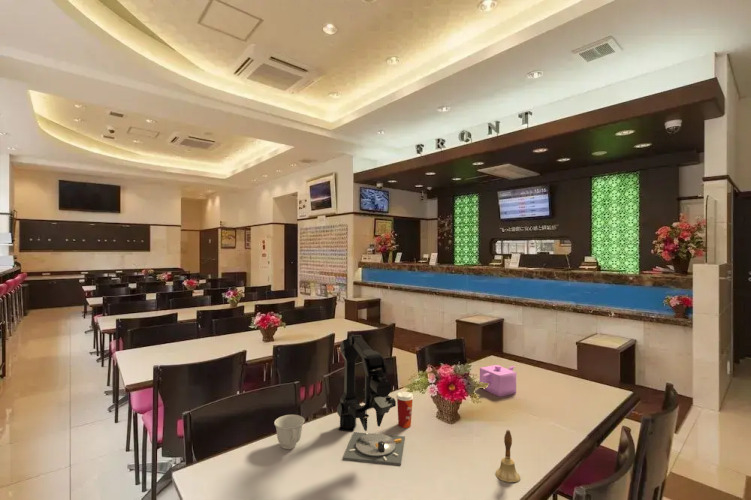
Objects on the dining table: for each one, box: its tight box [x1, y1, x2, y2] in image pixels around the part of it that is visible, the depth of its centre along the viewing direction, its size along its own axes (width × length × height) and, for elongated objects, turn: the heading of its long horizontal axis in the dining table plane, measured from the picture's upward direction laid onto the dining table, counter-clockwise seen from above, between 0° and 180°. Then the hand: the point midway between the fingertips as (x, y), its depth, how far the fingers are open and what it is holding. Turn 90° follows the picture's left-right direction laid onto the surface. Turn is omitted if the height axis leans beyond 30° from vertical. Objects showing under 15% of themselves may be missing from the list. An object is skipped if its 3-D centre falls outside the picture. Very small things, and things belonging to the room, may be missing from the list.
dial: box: [356, 432, 396, 457], centre depth 151 cm, size 16×16×4 cm
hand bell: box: [495, 429, 521, 483], centre depth 133 cm, size 8×8×16 cm
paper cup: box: [396, 391, 414, 429], centre depth 171 cm, size 8×8×14 cm
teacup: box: [273, 414, 305, 450], centre depth 151 cm, size 12×15×10 cm
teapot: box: [479, 364, 517, 398], centre depth 215 cm, size 15×25×14 cm, turn 118°
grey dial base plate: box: [342, 431, 406, 466], centre depth 151 cm, size 22×20×2 cm
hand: (372, 428), depth 142 cm, fingers open, 6 cm apart
